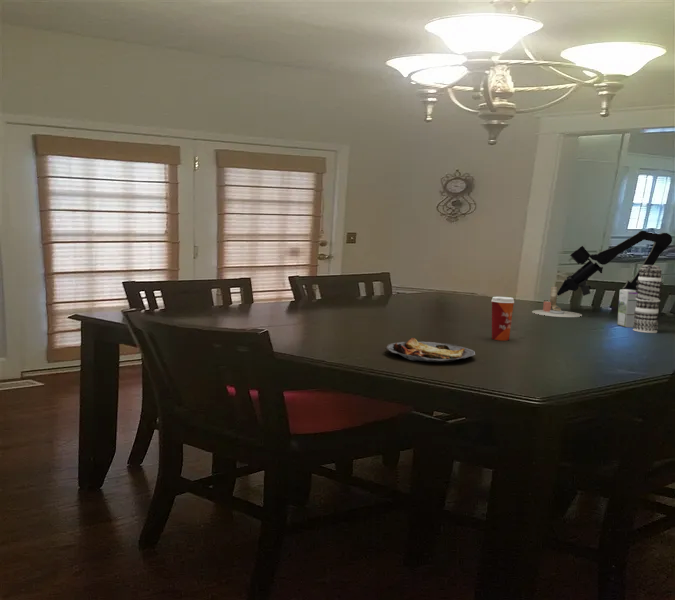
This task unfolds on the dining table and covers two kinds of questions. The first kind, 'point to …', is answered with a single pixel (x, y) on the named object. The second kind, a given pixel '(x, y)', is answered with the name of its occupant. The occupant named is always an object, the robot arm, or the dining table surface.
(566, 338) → the dining table surface
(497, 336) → the paper cup
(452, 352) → the food plate
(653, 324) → the decorative candle
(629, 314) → the syrup box
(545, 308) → the stop block
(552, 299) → the crank
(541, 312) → the dial plate
